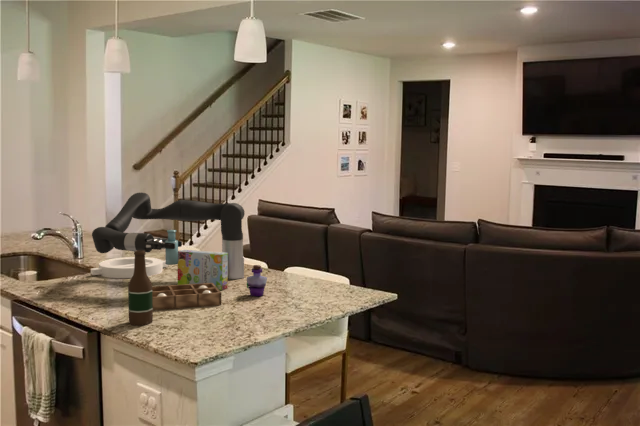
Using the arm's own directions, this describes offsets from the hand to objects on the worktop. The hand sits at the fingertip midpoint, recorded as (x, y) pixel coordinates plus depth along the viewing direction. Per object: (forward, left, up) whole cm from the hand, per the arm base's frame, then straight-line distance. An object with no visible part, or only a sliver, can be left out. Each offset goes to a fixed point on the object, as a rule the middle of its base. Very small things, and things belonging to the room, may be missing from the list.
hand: (177, 245), depth 233 cm
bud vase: (+2, -2, -7) cm, 8 cm away
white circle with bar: (+15, -51, -20) cm, 57 cm away
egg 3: (-9, +15, -19) cm, 26 cm away
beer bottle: (+17, +34, -20) cm, 43 cm away
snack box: (-11, -11, -20) cm, 26 cm away
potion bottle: (-29, +9, -20) cm, 37 cm away
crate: (0, +11, -20) cm, 23 cm away
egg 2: (-9, +7, -19) cm, 22 cm away
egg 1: (+8, +15, -19) cm, 26 cm away
